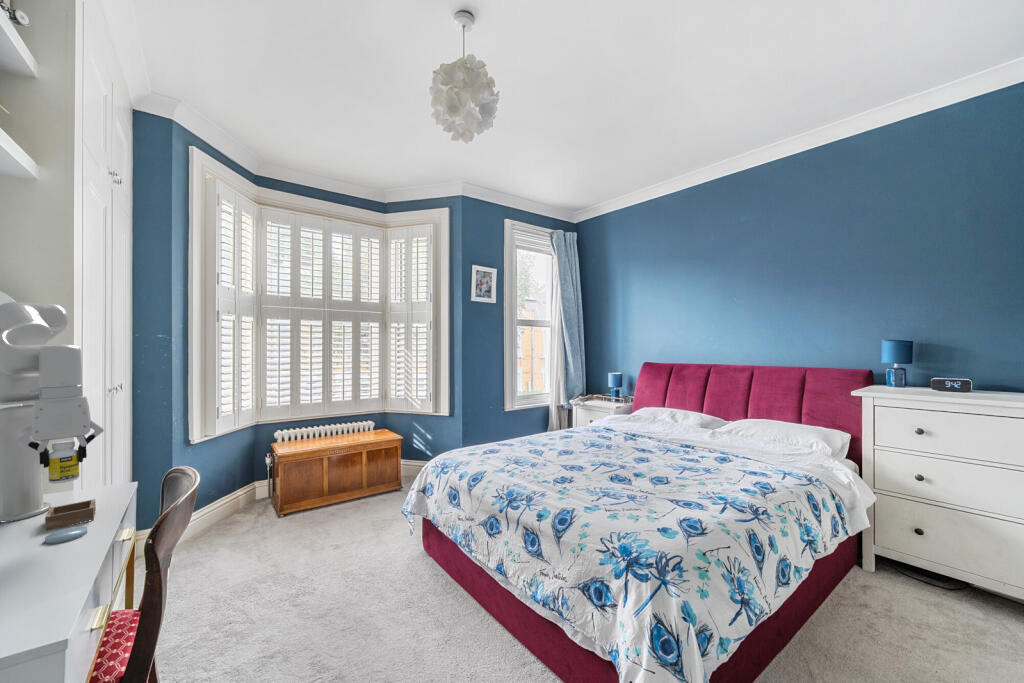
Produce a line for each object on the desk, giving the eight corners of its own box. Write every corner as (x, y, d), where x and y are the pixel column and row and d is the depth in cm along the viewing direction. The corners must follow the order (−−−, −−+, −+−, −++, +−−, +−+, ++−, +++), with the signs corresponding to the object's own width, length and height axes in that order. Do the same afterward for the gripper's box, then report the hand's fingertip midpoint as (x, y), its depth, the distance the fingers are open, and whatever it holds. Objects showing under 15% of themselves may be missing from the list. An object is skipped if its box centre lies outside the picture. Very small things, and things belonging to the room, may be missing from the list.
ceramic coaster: (35, 545, 104) (35, 541, 104) (61, 532, 112) (61, 528, 112) (72, 541, 106) (72, 537, 106) (94, 528, 113) (94, 525, 113)
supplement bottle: (59, 484, 106) (58, 445, 105) (43, 483, 107) (41, 445, 107) (85, 477, 111) (83, 440, 111) (69, 476, 112) (67, 439, 112)
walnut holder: (50, 520, 120) (50, 507, 120) (95, 510, 126) (95, 499, 126) (45, 530, 113) (45, 517, 113) (93, 520, 119) (93, 507, 119)
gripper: (6, 398, 100) (9, 475, 100) (107, 391, 111) (109, 459, 112) (13, 395, 106) (16, 468, 106) (108, 388, 117) (110, 454, 117)
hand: (64, 463), depth 109 cm, fingers closed on supplement bottle, 5 cm apart
